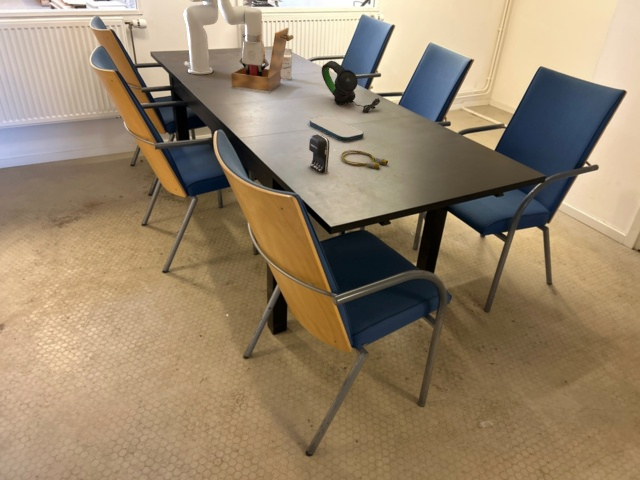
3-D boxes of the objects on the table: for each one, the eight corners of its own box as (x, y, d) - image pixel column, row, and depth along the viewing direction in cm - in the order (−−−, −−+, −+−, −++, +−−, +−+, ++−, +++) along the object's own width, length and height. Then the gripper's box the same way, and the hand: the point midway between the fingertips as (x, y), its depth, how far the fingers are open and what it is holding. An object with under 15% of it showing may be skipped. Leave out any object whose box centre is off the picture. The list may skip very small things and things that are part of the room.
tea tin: (247, 86, 235) (247, 62, 229) (251, 83, 239) (251, 60, 233) (257, 87, 234) (257, 63, 228) (261, 85, 238) (261, 61, 232)
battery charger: (306, 167, 162) (308, 133, 155) (316, 165, 163) (318, 132, 157) (318, 175, 157) (320, 141, 151) (328, 173, 159) (330, 139, 152)
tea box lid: (275, 32, 216) (286, 36, 215) (287, 27, 228) (298, 30, 228) (267, 76, 227) (278, 80, 226) (279, 69, 240) (290, 72, 239)
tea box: (231, 88, 234) (231, 73, 231) (245, 80, 247) (244, 66, 244) (268, 93, 230) (268, 78, 227) (280, 85, 243) (280, 70, 240)
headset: (356, 129, 220) (316, 85, 227) (379, 112, 223) (339, 70, 230) (359, 106, 203) (316, 59, 210) (384, 88, 206) (341, 43, 213)
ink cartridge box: (273, 79, 251) (273, 49, 243) (275, 77, 255) (275, 47, 248) (290, 80, 251) (290, 50, 243) (291, 78, 255) (292, 48, 247)
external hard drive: (306, 124, 197) (306, 119, 196) (328, 119, 203) (329, 115, 202) (343, 143, 181) (343, 138, 180) (366, 138, 187) (367, 133, 186)
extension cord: (361, 173, 160) (361, 167, 159) (334, 156, 171) (334, 150, 170) (390, 166, 165) (391, 161, 164) (362, 150, 177) (363, 145, 175)
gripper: (233, 37, 224) (234, 78, 233) (268, 41, 220) (268, 83, 230) (240, 34, 230) (241, 74, 240) (274, 38, 226) (274, 79, 236)
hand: (254, 78), depth 235 cm, fingers closed on tea tin, 4 cm apart
